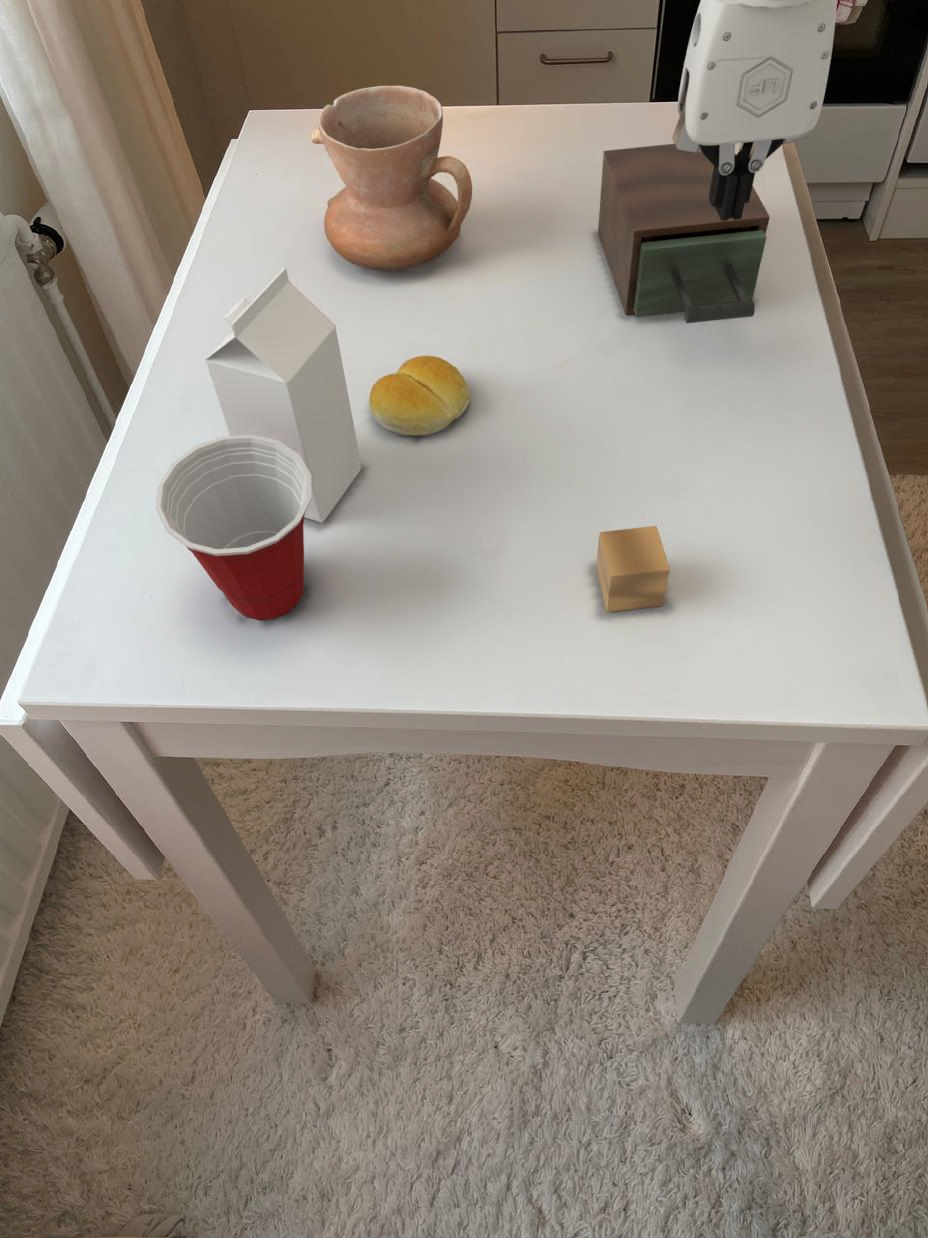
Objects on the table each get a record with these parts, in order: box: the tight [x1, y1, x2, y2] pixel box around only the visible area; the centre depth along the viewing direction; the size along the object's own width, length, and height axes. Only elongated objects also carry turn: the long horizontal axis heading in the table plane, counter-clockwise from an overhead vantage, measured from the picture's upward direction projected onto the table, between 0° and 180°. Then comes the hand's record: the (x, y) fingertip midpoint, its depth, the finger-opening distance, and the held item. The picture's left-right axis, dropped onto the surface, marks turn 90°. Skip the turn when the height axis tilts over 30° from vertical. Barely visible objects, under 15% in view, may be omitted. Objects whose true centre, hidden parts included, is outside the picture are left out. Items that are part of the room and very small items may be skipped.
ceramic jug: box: [310, 85, 473, 271], centre depth 98 cm, size 18×14×14 cm
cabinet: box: [597, 143, 771, 316], centre depth 95 cm, size 15×13×9 cm
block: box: [595, 525, 671, 613], centre depth 72 cm, size 4×4×4 cm
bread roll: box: [369, 355, 472, 436], centre depth 86 cm, size 8×9×4 cm
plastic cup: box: [155, 435, 311, 621], centre depth 71 cm, size 11×11×12 cm
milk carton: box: [205, 267, 362, 523], centre depth 75 cm, size 7×7×19 cm
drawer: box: [634, 227, 767, 324], centre depth 92 cm, size 21×11×7 cm, turn 6°
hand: (726, 210), depth 80 cm, fingers closed
